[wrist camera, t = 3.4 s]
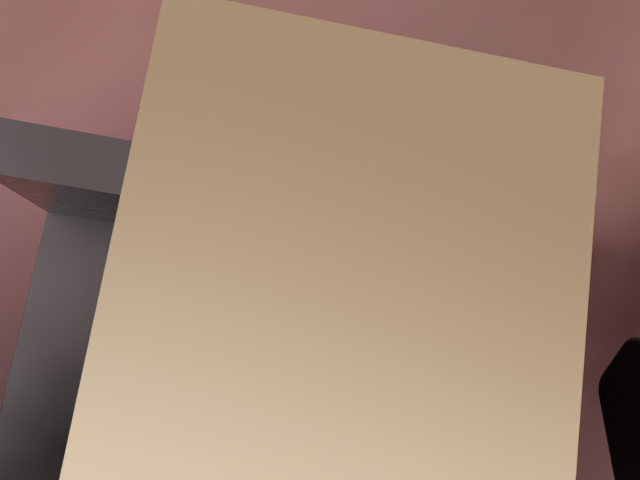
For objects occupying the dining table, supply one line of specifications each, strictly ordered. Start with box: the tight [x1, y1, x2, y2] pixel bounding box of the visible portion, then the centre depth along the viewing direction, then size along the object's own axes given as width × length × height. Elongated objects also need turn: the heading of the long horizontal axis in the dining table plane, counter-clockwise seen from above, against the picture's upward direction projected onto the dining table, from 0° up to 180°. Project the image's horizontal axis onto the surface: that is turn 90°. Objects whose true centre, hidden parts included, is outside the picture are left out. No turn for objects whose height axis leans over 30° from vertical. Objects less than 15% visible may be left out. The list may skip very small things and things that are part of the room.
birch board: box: [59, 0, 604, 480], centre depth 8 cm, size 4×2×11 cm, turn 172°
